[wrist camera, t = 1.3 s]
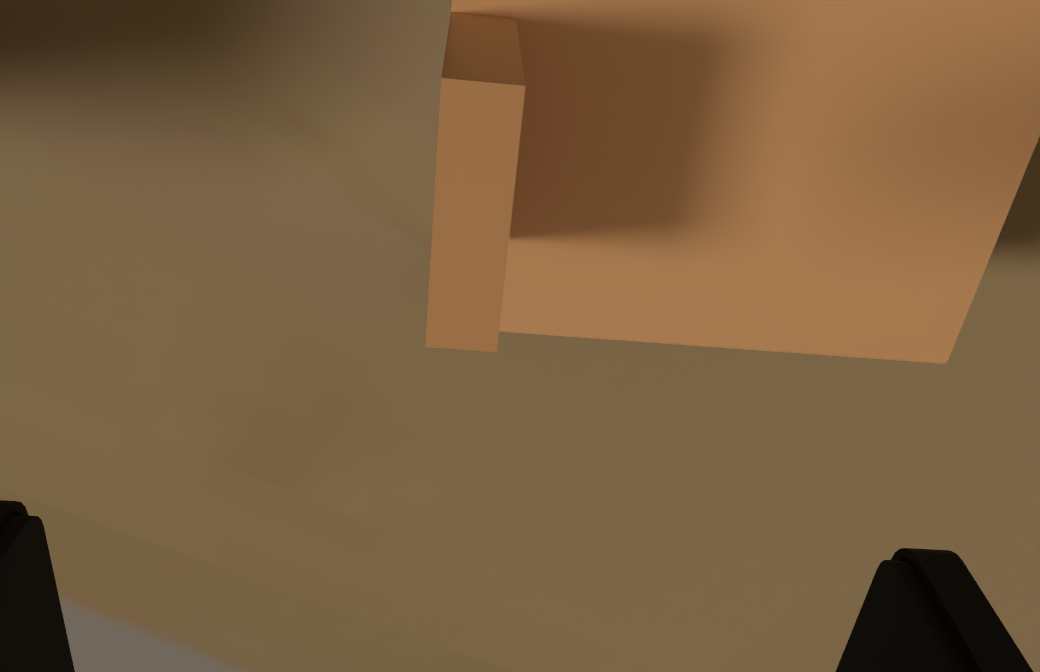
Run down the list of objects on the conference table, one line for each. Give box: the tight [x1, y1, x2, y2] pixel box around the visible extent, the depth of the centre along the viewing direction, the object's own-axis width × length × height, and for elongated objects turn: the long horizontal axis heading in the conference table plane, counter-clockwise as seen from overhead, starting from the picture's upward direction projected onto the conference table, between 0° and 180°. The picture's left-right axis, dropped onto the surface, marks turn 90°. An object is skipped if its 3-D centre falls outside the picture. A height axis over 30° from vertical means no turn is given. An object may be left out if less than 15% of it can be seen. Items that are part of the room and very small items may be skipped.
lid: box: [425, 0, 1040, 364], centre depth 23 cm, size 12×16×8 cm
